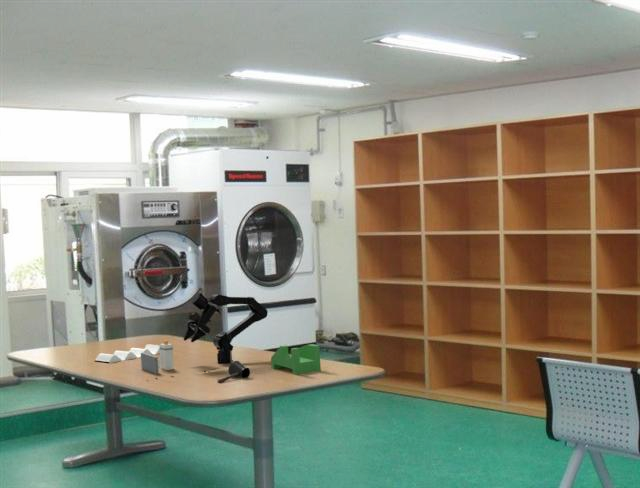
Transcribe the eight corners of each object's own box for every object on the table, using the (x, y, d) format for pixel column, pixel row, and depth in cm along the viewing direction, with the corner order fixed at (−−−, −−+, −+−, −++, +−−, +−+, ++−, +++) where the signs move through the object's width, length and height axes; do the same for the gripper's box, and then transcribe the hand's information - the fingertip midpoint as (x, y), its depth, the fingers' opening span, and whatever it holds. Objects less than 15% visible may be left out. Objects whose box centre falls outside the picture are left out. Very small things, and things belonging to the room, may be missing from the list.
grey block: (167, 367, 423) (166, 349, 423) (183, 372, 406) (181, 353, 406) (141, 371, 416) (140, 352, 416) (156, 376, 399) (155, 357, 399)
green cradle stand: (320, 371, 391) (319, 345, 390) (295, 375, 384) (293, 349, 384) (296, 365, 411) (294, 340, 411) (271, 368, 405) (270, 343, 404)
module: (168, 367, 417) (166, 339, 417) (174, 369, 411) (172, 340, 410) (160, 368, 415) (159, 340, 414) (166, 370, 409) (164, 341, 408)
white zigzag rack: (93, 362, 456) (93, 353, 456) (147, 353, 481) (146, 344, 481) (107, 364, 447) (106, 355, 447) (161, 354, 473) (160, 345, 472)
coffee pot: (241, 373, 392) (252, 378, 385) (209, 385, 380) (220, 390, 374) (240, 358, 390) (251, 363, 384) (208, 369, 378) (219, 374, 372)
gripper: (187, 304, 428) (168, 329, 423) (202, 307, 412) (183, 333, 407) (203, 318, 433) (185, 342, 428) (218, 320, 417) (199, 346, 412)
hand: (187, 341), depth 418 cm, fingers open, 9 cm apart
